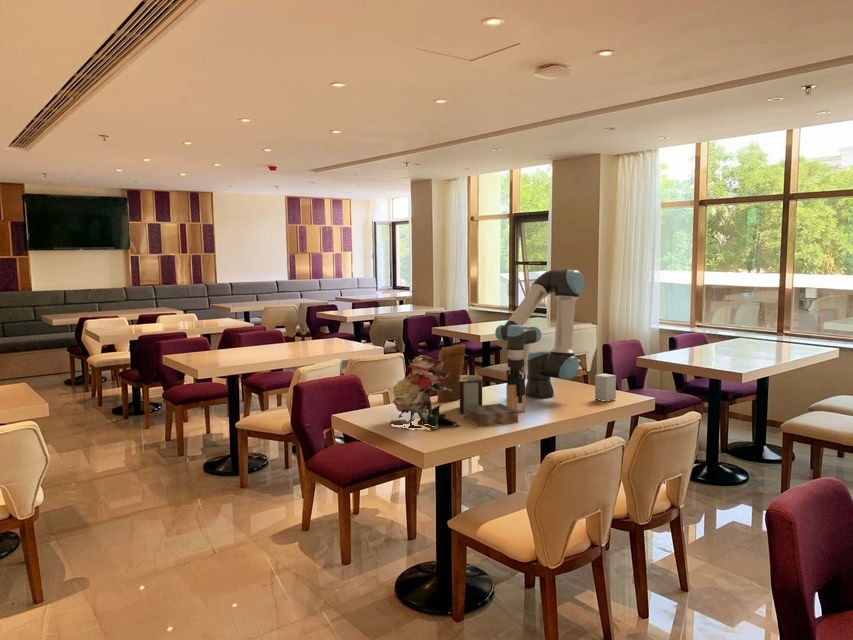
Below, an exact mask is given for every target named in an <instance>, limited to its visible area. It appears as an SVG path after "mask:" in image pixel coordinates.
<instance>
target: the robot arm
mask: <svg viewBox="0 0 853 640" xmlns="http://www.w3.org/2000/svg"><path fill="white" fill-rule="evenodd" d="M585 287H586V285H585V278H584V276H583V274H582V273H581V272H580V271H579V270H576V269H550V270H548V271H546V272H544V273H542V274H541V275H539V276H538V277H537V278H536V279H535V280H534V282H532V284H531V285H530V287H529V288H530V289H529V291H528V293H526V296H525V297H524V298H523V300H522V301H521V302H520V303H519V305H518V306H517V308H516V309H515V310H514V312H513V313H512V314H511V315H510V317H509V318H508V320H507V321H506V322H505V324H502V325H501V324H500V325H498V326H497V327H496V328H495V333H494V334H495V337H496V339H497V340H499V341H503V342H507V352H506V354H507V358H508V359H507V367H508V368H509V369H507V370H506V386H507V385H515V384H516V391H517V395H516V410H522V396H523V395H525V397H527V396H528V397H527V398H531V397H533V398H532V399H548V398H547V397H550V398H553V397H554V396H555V394H554V393H555V391H554V388H553V385H552V382H551V378H555V379H560V380H571V379H573V378H574V377H575V376H576V375H577V372H578V371H579V367H580V365H579V364H580V362H579V359H578V358H577V356H575V355H576V354H575V353H576V352H575V351H574V350H573V349H572V348H573V338H574V325H575V324H574V322H575V311H576V301H577V300H578V299H579V298H580V294H582V293H583V292H584V290H585ZM550 294H554V298H556V300H557V305H556V318H555V319H556V320H555V330H554V331H555V332H554V345H553V347H552V349H551V350H548V349H547V350H546V349H544V350H536V351H535V350H533V351H530V352H528V353H527V359H526V361H527V363H526V364H527V365H526V366H527V368H526V369H527V380H526V373H523V369H522V368H524V367H525V359H524V358H525V345H530V344H536V343H538V342H540V341H541V339H542V332H541V329H539V327H537V326H530V327H526V326H524V325H525V324H526V323H527V321H528V319H530V317H531V315H532V314H533V313H534V311H536V309H537V307H538V306H539V305H540V304H541V302H542V301H543V299H546V298H547V297H548V296H549V295H550ZM552 396H553V397H552Z"/></svg>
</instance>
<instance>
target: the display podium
mask: <svg viewBox="0 0 853 640" xmlns="http://www.w3.org/2000/svg"><path fill="white" fill-rule="evenodd" d="M463 415H464V417H463V419H465V420H466V421H468V420H469V421H468V422H470V421H471V423H472V422H473V423H472V424H474V423H475V424H474V425H476V424H477V425H476V426H478V427H479V426H483V427H490V426H489V425H492V426H498V425H497V424H500V425H507V424H506V423H509V424H513V423H512V422H518V423H519V412H518V411H517V410H514V409H512V408H510V407H507V405H505V404H502V403H493V404H492V403H491V404H482V405H481V406H471V407H464V414H463Z"/></svg>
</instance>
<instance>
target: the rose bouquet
mask: <svg viewBox="0 0 853 640" xmlns="http://www.w3.org/2000/svg"><path fill="white" fill-rule="evenodd" d="M438 360H439V359H436V358H432V357H430V356H429V355H421V354H420V355H419V356H414V359H412V362H410V363H409V365H410V367H411V368H412V370H411V371H410V372H409V374H408V375H406V377H404V378H403V379H401V380H398V381H397V382H396V384H394V386H393V387H392V391H393V392H392V394H393V398H394V399H393V401H392V403H393V404H394V406H395V407H396V410H397V411H398V412H401V413H400V414H399V415H398V418H399V419H395V420H394V419H393V420H390V422H389V425H390V424H394V425H403V424H409V423H410V426H409V427H408V428H422V427H421V426H414V425H412V423H411V422H412V421H414V420H415V419H414V415H415V413H417V415H418V418H421V419H420V420H421V421H420V423H421V422H423V424H429V425H431V426H434V427H430V428H431V429H430V430H432V431H433V430H435V429H436V428H437V429H441V428H440V427H442V426H440V425H438V423H444V422H447V423H449V424H451V423H453V424H452V426H453V427H455V426H456V427H457V426H458V427H460V424H459V425H458V422H457V421H456V420H454V421H453V420H452V419H451V418H447V414H448V412H443V413H440V407H442V406H443V405H442V404H439V405H437V406H434V407H433V406H432V405H433V404H432V400H431V396H432V395H433V392H432V393H431V391H434V392H435V391H436V392H438V391H441V390H448V391H452V390H451V389H449V388H446V387H439V386H440V385H443V384H442V383H443V382H444V380H445V378H446V377H448V375H449V374H451V372H444V373H443V372H442V371H441V370H440V369H441V368H442V366H443V362H441V361H438ZM404 413H406V414H409V413H410V418H409V419H410V420H409V421H406V419H401V418H403V414H404ZM423 424H422V425H423ZM404 427H405V426H404Z"/></svg>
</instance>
